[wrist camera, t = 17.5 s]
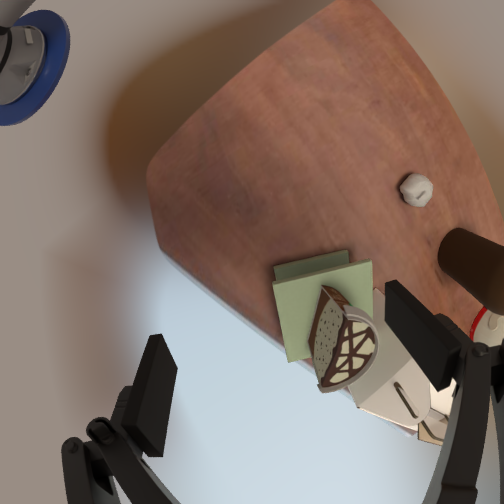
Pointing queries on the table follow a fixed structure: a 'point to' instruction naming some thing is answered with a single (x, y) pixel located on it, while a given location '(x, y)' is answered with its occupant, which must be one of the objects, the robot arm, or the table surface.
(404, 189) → the garlic
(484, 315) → the kitchen timer
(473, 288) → the olive oil
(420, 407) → the gable box
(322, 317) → the food container
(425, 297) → the table surface
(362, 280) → the stand
